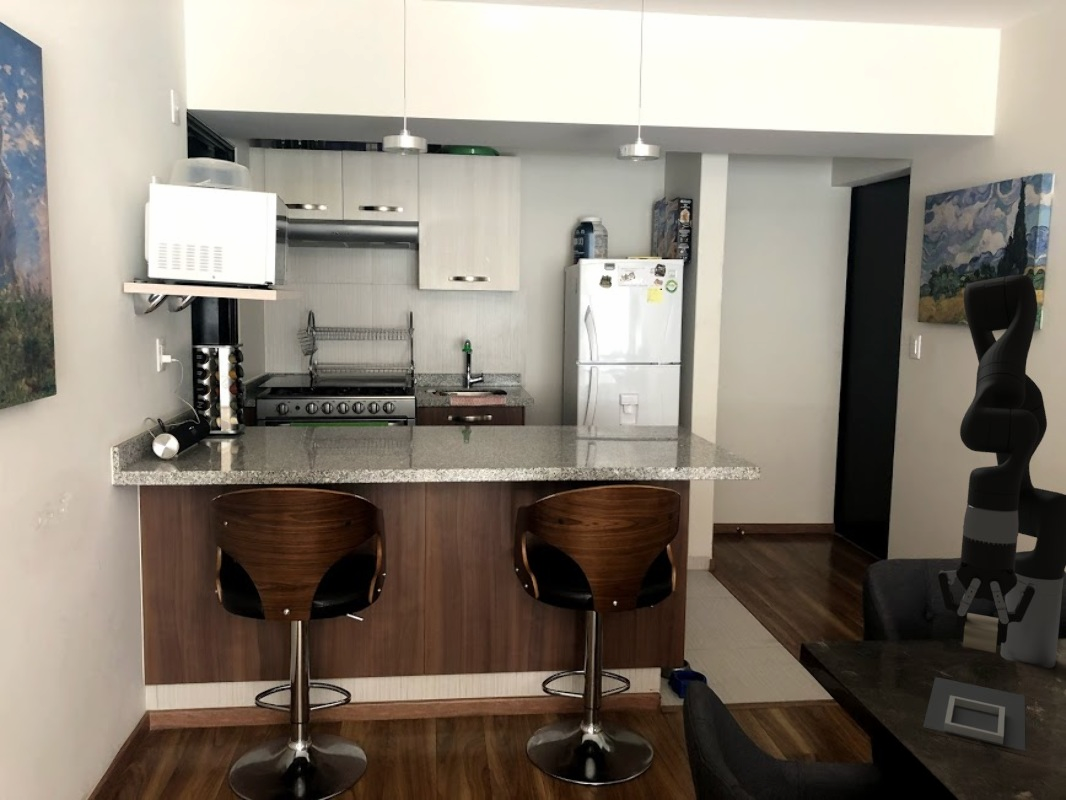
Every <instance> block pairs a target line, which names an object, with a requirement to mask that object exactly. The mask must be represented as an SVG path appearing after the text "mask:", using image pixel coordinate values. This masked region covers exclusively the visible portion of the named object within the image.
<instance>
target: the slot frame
mask: <svg viewBox="0 0 1066 800" xmlns="http://www.w3.org/2000/svg"><path fill="white" fill-rule="evenodd" d="M954 705H956V706H961V707H965V708H970V709H974V710H979V711H983V712H988V713H992V714H997V715H999V718H998V733H995V732H990V731H986V730H982V729H977V728H973V727H969V726H964V725H960V724H956V723H952V722H951V721H952V716H953V710H954ZM1004 717H1005V707H1002V706H997V705H993V704H988V703H984V702H979V701H974V700H970V699H965V698H961V697H956V696H951V695H950V698H949V703H948V708H947V713H946V718H945V724H944V731H949V732H953V733H957V734H961V735H966V736H970V737H974V738H978V739H983V740H987V741H991V742H995V743H999V744H1003V738H1004Z"/></svg>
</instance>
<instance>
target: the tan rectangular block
mask: <svg viewBox="0 0 1066 800" xmlns="http://www.w3.org/2000/svg"><path fill="white" fill-rule="evenodd" d="M966 613H967V621H966V623H965V628H964V639H962V640H963V643H962V647H964V648H969V649H974V650H980V651H986V652H990V653H997V652H996V651H997V646H996V644H997V632H998V628H997V626H998V619H999V617H994V616H987V615H982V614H977V613H970V612H966Z"/></svg>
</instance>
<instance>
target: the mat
mask: <svg viewBox="0 0 1066 800" xmlns="http://www.w3.org/2000/svg"><path fill="white" fill-rule="evenodd" d="M950 695H951V696H956V697H961V698H965V699H970V700H974V701H979V702H984V703H988V704H993V705H997V706H1002V707H1005V717H1004V738H1003V744H999V743H995V742H991V741H987V740H983V739H978V738H974V737H970V736H966V735H961V734H957V733H953V732H949V731H944V724H945V718H946V713H947V708H948V703H949V698H950ZM929 697H930V698H929V701H928V705H927V708H926V709H927V710H926V713H925V717H924V722H923V726H922V727H923V728H925V729H930V730H932V731H933V730H934V731H939V732H942V733H947V734H950V735H955V736H959V737H963V738H967V739H972V740H977V741H981V742H984V743H990V744H993V745H997V746H1002V747H1006V748H1010V749H1014V750H1017V751H1024V752H1026V695H1023V694H1018V693H1013V692H1010V691H1009V692H1008V691H1004V690H1000V689H995V688H990V687H983V686H980V685H976V684H970V683H965V682H962V681H961V682H960V681H956V680H952V679H948V678H947V679H946V678H942V677H937V676H935V677H934V682H933V684H932V689H931V692H930V696H929ZM998 718H999V715H997V714H992V713H988V712H983V711H979V710H974V709H970V708H965V707H961V706H956V705H954V710H953V716H952V721H951V722H952V723H956V724H960V725H964V726H969V727H973V728H977V729H982V730H986V731H990V732H995V733H998ZM922 732H923V733H926V734H929V735H930V734H932V735H934V736H940V737H944V738H948V739H952V740H956V741H960V742H964V743H968V744H973V745H977V746H980V747H984V748H985V747H986V748H990V749H993V750H998V751H1002V752H1006V753H1010V754H1014V755H1019V756H1023V757H1025V755H1023V754H1020V753H1015V752H1010V751H1006V750H1003V749H999V748H995V747H990V746H988V745H987V746H986V745H981V744H977V743H974V742H969V741H965V740H961V739H957V738H953V737H948V736H944V735H940V734H936V733H932V732H929V731H922Z"/></svg>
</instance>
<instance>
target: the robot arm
mask: <svg viewBox="0 0 1066 800" xmlns="http://www.w3.org/2000/svg"><path fill="white" fill-rule="evenodd" d="M963 305H964V306H963V307H964V312H965V316H966V320H967V323H968V324H967V325H968V328H969V332H970V335H971V339H972V342H973V346H974V350H975V354H976V357H977V361H978V366H977V372H976V384H975V393H974V396H973V399H972V402H971V403H970V405H969V407H968V408H967V410H966V412H965V414H964V415H963V418H962V421H961V423H960V428H959V434H960V440H961V442H962V443H963V445H964V446H965V447H966V448H967V449H969V450H970V451H973V452H978V453H991V454H995V456H996V462H997V465H992V466H982V467H976V468H974V469H972V470H971V472H970V474H969V480H968V481H969V482H968V490H967V501H966V503H967V504H966V510H965V512H964V516H963V517H964V518H963V525H962V540H961V541H962V542H961V551H960V562H959V566H958V567H957V568H956V569H954V570H946V569H941V570H939V572H938V575H937V577H938V582H939V586H940V591H941V595H942V598H943V603H944V607H945V609H946V610H948V611H952V612H954V613H955V615H956V624H955V625H956V626H955V633H956V635H959V639H960V640H963V639H964V628H965V623H966V621H967V613H968V612H967V611H968V610H969V607H970V605H971V604H972V601H973V600H974V599H979V600H980V599H982V600H983V599H985V600H988V601H990V602H994V603H995V604H994V605H995V607H996V610H997V614H998V618H999V619H998V626H997V628H998V632H997V644H996V647H997V646H998V647H1000V656H1001V658H1003V659H1004V660H1006V661H1011V662H1012V661H1013V662H1018V663H1022V664H1026V665H1027V664H1029V665H1033V666H1038V667H1043V668H1049V669H1052V668H1054V667H1055V666H1056V660H1057V652H1058V651H1057V650H1058V640H1059V630H1060V629H1059V628H1060V618H1061V606H1062V599H1063V598H1062V597H1063V596H1062V595H1063V587H1064V576H1065V570H1066V494H1065V493H1062V492H1057V491H1052V490H1047V489H1042V488H1037V487H1034V485H1033V483H1032V478H1031V473H1030V462H1031V460H1032V457H1033V455H1035V452H1036V451H1037V449H1038V448H1039V446H1040V445H1041V444H1040V443H1041V442H1042V441H1043V439H1044V436H1045V434H1046V432H1047V427H1048V422H1047V421H1048V420H1047V413H1046V408H1045V402H1044V399H1043V398H1044V397H1043V393H1042V391H1041V389H1040V387H1039V386H1038V385H1037V384H1036V382H1034V380H1033V379H1032V378H1031V377H1030V376H1029V375H1028V374H1027V372H1026V371H1027V362H1028V361H1027V360H1028V356H1029V352H1030V349H1031V343H1032V339H1033V336H1034V331H1035V327H1036V323H1037V316H1038V298H1037V293H1036V289H1035V286H1034V283H1033V281H1032V279H1031V278H1030V277H1029V276H1028V275H1025V274H1016V275H1015V274H1013V275H1007V276H1001V277H994V278H989V279H983V280H978V281H974V282H970V283H968V284H967V285H966V286H965V288H964V290H963ZM1003 330H1005V332H1003V333H1002V335H1001V336H1000V337H999V338H998V339H996V338H995V335H994V333H993V332H995V331H1003ZM1019 534H1021V535H1024V536H1028V537H1032V538H1036V541H1035V542H1036V543H1035V546H1034V549H1032V550H1027V551H1026V550H1025V551H1017V547H1018V546H1017V545H1018V537H1019ZM956 578H957V579H958V580H959V582H960V584H961V585H962V586H963V588H964V590H965V591H964V594H963V596H962V598H961V600H960V603H959V602H957V601H955V599H954V595H953V590H952V585H953V584H954V582H955V579H956Z"/></svg>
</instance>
